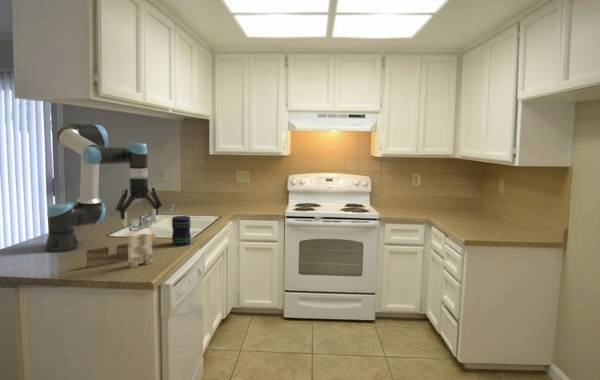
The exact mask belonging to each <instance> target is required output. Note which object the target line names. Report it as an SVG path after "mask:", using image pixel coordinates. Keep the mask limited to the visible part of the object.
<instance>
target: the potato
mask: <svg viewBox="0 0 600 380" xmlns="http://www.w3.org/2000/svg"><path fill="white" fill-rule="evenodd" d="M149 233H150V232H149ZM150 234H152V247H154V246H155V245H156V243H157V236H156V234H154V233H150Z"/></svg>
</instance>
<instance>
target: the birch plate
mask: <svg viewBox="0 0 600 380" xmlns="http://www.w3.org/2000/svg"><path fill="white" fill-rule="evenodd" d="M127 243H128V261H127V264H128V265H127V266H128V267H129V268H131V269H132V268H136V267H139V262H138V261H139V260H138V259H139V257H142V258H143V259H142V260H143V261H142V263H143V264H144V265H146V266H147V265H151V264H153V246H152V234H150V232H147V233H139V234H138V233H137V234H132V235H128V236H127Z"/></svg>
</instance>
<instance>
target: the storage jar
mask: <svg viewBox="0 0 600 380" xmlns="http://www.w3.org/2000/svg"><path fill="white" fill-rule="evenodd" d="M171 229H172V235H171V241H172V244H173V245H172V244H171V245H172V246H174V245H177V246H176V247H186V246H189V245H191V238H192V237H191V217H190V216H189V215H188V216H187V215H177V216H172V217H171Z"/></svg>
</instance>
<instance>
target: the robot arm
mask: <svg viewBox="0 0 600 380" xmlns="http://www.w3.org/2000/svg"><path fill="white" fill-rule="evenodd" d="M106 130H107V129H105V127H104V126H103V125H100V124H95V123H66V124H63V125H61V126H60V127H59V128H58V129H57V131H56V135H55V138H56V141H57V142H58V143H59V145H61V146H62V147H64V148H65V149H71V150H73V151H75V152H76V153H78V154H79V155H80V189H79V190H80V193H79V194H80V195H79V197H78V199H76V204H74V202H72V201H67V202H66V201H65V202H59V203H56V204H52V205H50V206H49V207H48V208H47V225H48V226H47V227H48V236H47V239H46V242H45V245H44V249H45V251H46V252H48V253H49V252H51V253H60V252H69V251H73V250H76V249H79V247H80V243H79V240H78V238H77V235H76V232H75V228H76V227H84V226H90V225H92V226H93V225H98V224H100V223H102V222H103V221H104V220H105V217H106V206H105V204H104V203H103V202H102V200H101V199H100V197H99V182H100V181H99V180H100V179H99V178H100V165H122V164H127V165H128V164H129V165H128V166H129V177H130V179H129V189H125V188H124V189H122V194H121V196H120V199H119V201H118V203H117V205H116V207H115V211H117V212H119V213H120V220H122V227H124V228H127V227H128V215H127V214H128V213H127V212H128V211H126V210H127V209H128V208H129V206H131V204H132V203H133V201H134V200H138V199H145V200H146V201H147V203H148V204H150V206H151V207H153V208H151V222H152V223H154V224H157V216H158V214H159V208H162V207H163V205H162V202H161V201H160V199H159V197H158V195H157V193H156V189H155V187H152V186H151V187H149V179H148V175H149V174H148V173H149V172H148V147H147V144H146V143H144V142H143V143H141V142H140V143H139V142H138V143H137V142H135V143H134V142H133V143H132V142H130V143H129V144H128V146H114V147H112V146H108V143H109V138H108V137H109V136H108V133H107V131H106ZM148 193H150V195H151V197H152V198H153V199H152V198H151V197H150V195H148ZM128 195H129V196H128ZM127 197H128V199H127Z"/></svg>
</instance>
